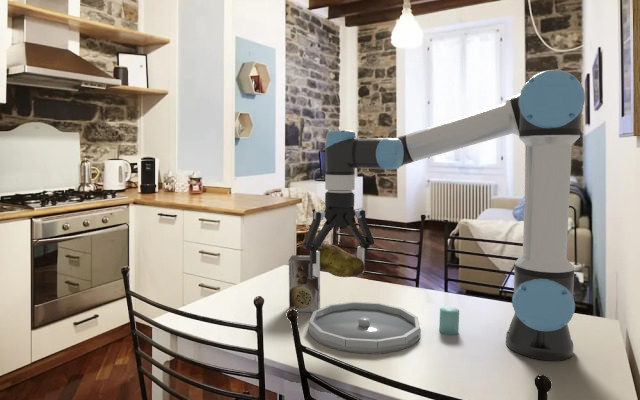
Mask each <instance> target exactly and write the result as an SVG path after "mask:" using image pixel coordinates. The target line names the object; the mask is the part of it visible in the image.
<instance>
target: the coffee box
mask: <svg viewBox="0 0 640 400" xmlns="http://www.w3.org/2000/svg"><path fill="white" fill-rule="evenodd" d="M288 291H289V292H288V304H289V305H288V308H289V309H295V310H297V311H298V312H300V313H313V312H314V311H316V310H318V309H321V276H320V277H316V276H314V275H313V264H312V263H311V262H310V255H306V254H305V255H302V254H300V255H299V254H298V255H297V254H292V255H291V256H290V257H289V259H288ZM289 309H288V310H289Z"/></svg>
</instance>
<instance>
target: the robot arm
mask: <svg viewBox="0 0 640 400" xmlns="http://www.w3.org/2000/svg"><path fill="white" fill-rule="evenodd" d="M585 93H586V92H585V89H584V87H583V84H581V82H580V80H579V79H578V78H577V77H576V76H575V75H573V74H572V73H570V72H568V71H565V70H561V69H548V70H544V71H541V72H539V73H537V74H535V75H533V76H532V77H531V78H529V80H527V81H526V83H525V84H524V85H523V86H522V88H521V90H520V92H519V93H518V94H516V95H512V96H510V97H507V99H506V100H505V102H504V103H501V104H499V105H496V106H492V107H489V108H486V109H483V110H480V111H477V112H473V113H469V114H467V115H464V116H461V117H458V118H457V117H456V118H455V119H452V120H448V121H445V122H442V123H439V124H435V125H433V126H429V127H426V128H423V129H420V130H416V131H414V132H410V133H407V134H404V135H401V136H398V137H393V138H392V137H378V138H377V137H373V138H371V137H370V138H368V137H367V138H361V137H359V138H358V137H356V132H355V131H354V130H349V129H347V130H346V129H345V130H341V129H340V130H338V129H337V130H329V131H328V132H326V135H325V137H326V138H325V147H324V151H325V176H324V177H325V183H324V184H325V187H324V188H325V190H327V191H326V192H325V194H324V201H325V202H324V206H325V209H324V211H318V210H317V211H316V210H314V211H313V213H312V221H311V223H310V226H309V229H308V231H307V234H306V236H305V238H304V241H303V244H302V248H304V249H306V250H309V256H310V262H311V263H312V264H313V275H314V276H316V277H320V278H321V268H320V252H319V251H317V249H318V248H319V247H320V246H321V245H323V242H324V241H325V239H326V237H327V236H328V235H329V233H330V232H331V231H333V229H334V228H335V229H339V228H348V230H349V232H351V234H352V235H353V237H354V238H355V239H356V241H357V243H358V245H359V246H356V248H357V250H356V252H357V255H356V257H358V258H359V259H361V260H362V261H363V263H364V264H365V260H367V259H368V249H369V248H370V246H373V245H374V244H375V240H374V237H373V235H372V233H371V230H370V227H369V223H368V221H367V219H366V211H365V210H364V209H360V208H358V209H357V210H355V193H354V190H355V185H356V184H355V183H356V182H355V181H356V180H355V178H356V177H355V175H356V172H355V171H356V169H368V170H369V169H371V170H372V169H373V170H385V171H387V170H397V169H400V168H401V167H403V166H405V165H409V164H411V163H414V162H417V161H421V160H425V159H427V158H432V157H435V156H438V155H439V156H440V155H442V154H445V153H448V152H452V151H455V150H460V149H463V148H467V147H470V146H474V145H477V144H480V143H483V142H487V141H491V140H494V139H499V138H501V137H504V136H505V137H506V136H508V135H511V134H512V135H516V136H518V138H519V139H520V141H522V142H523V143H524V145H525V147H526V149H525V150H526V151H525V155H526V156H525V178H524V180H525V181H524V182H525V183H524V203H523V204H524V206H523V207H524V208H523V209H524V210H523V211H524V212H523V232H522V233H523V237H522V238H523V239H522V255H519V256H518V258H517V259H516V260H515V262H514V279H513V283H514V284H513V294H512V297H511V299H512V300H511V305H512V307H513V311H514V315H513V316H512V317H513V318H512V320H511V322H510V325H509V328H508V330H507V331H506V334H505V345H506V346H507V347H508V348H509V350H511V351H513V352H515V353H517V354H519V355H522V356H525V357H528V358H530V359H536V360H543V361H551V362H552V361H554V362H555V361H563V360H568V359H569V358H572V357H573V355H574V343H573V339H572V338H571V333H570V330H569V325H568V324H569V323H570V321H571V320H572V318H573V316H574V313H575V310H576V303H575V302H576V301H575V298H574V286H575V285H574V283H575V282H574V281H575V279H574V278H575V266H574V265H573V264H572V263H571V262H570V260H568V256H567V255H568V239H569V238H568V236H569V235H568V234H569V213H570V212H569V211H570V195H571V194H570V193H571V192H570V190H571V170H572V168H571V165H572V149H573V147H572V146H573V144H574V143H576V141H578V140H579V138H581V129H582V112H583V111H582V110H583V108H584V105H585V101H586V99H585V98H586V94H585ZM354 217H355V218H357V222H358V224H359V226H360V229H361V232H362V233H361V232H360V231H359V229H358V228H357V225H356V224H355V223H354V221H353V219H354ZM323 218H325V220H326V221H324V223H323V226H322V228H321V229H320V231H318V230H319V227H320V225H321V221H323ZM317 233H318V234H317ZM363 273H365V270H364V271H363V272H362V273H361V274H363Z"/></svg>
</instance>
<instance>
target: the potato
mask: <svg viewBox="0 0 640 400" xmlns="http://www.w3.org/2000/svg"><path fill="white" fill-rule="evenodd" d="M317 251H319V252H320V270H321V269H322V271H325V272H328V273H329V274H330V275H332V276H333V277H339V278H352V277H357V276H359V275H361V274H363V273H362V272H363V271H364V272H365V262H364V263H363V261H362V260H361V259H359V258H358V257H357V255H354V254H352V253H350V252H349V251H348V252H347V251H346V250H344V249H342V248H340V246H337V245H335V244H332V243H331V244H329V243H324V244H323V243H322V244H321V245H320V247H319V248H318V249H317Z"/></svg>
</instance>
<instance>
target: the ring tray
mask: <svg viewBox="0 0 640 400" xmlns="http://www.w3.org/2000/svg"><path fill="white" fill-rule="evenodd" d="M308 333H309V335H310V337H311V338H312V339H313V340H314V341H315V342H317V343H319V344H321V345H323V346H325V347H327V348H330V349H333V350H337V351H340V352H345V353H353V354H365V355H366V354H368V355H369V354H371V355H372V354H373V355H375V354H386V353H387V354H388V353H394V352H398V351H403V350H405V349H409V348H410V347H413V346H414V345H415V344H417V342H419V340H420V339H421V335H422V334H421V333H422V330H421V326H420V322H419V317H418V316H416V315H415V314H413V313H411V311H410V312H409V311H408V310H406V309H404V308H402V307H398V306H395V305H389V304H386V303H381V302H367V301H365V302H363V301H349V302H342V303H341V302H340V303H333V304H332V303H331V304H328V305H326V306H324V307H320V309H318V310H316V311H314V312H312V314H311V317H310V319H309V321H308Z"/></svg>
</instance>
